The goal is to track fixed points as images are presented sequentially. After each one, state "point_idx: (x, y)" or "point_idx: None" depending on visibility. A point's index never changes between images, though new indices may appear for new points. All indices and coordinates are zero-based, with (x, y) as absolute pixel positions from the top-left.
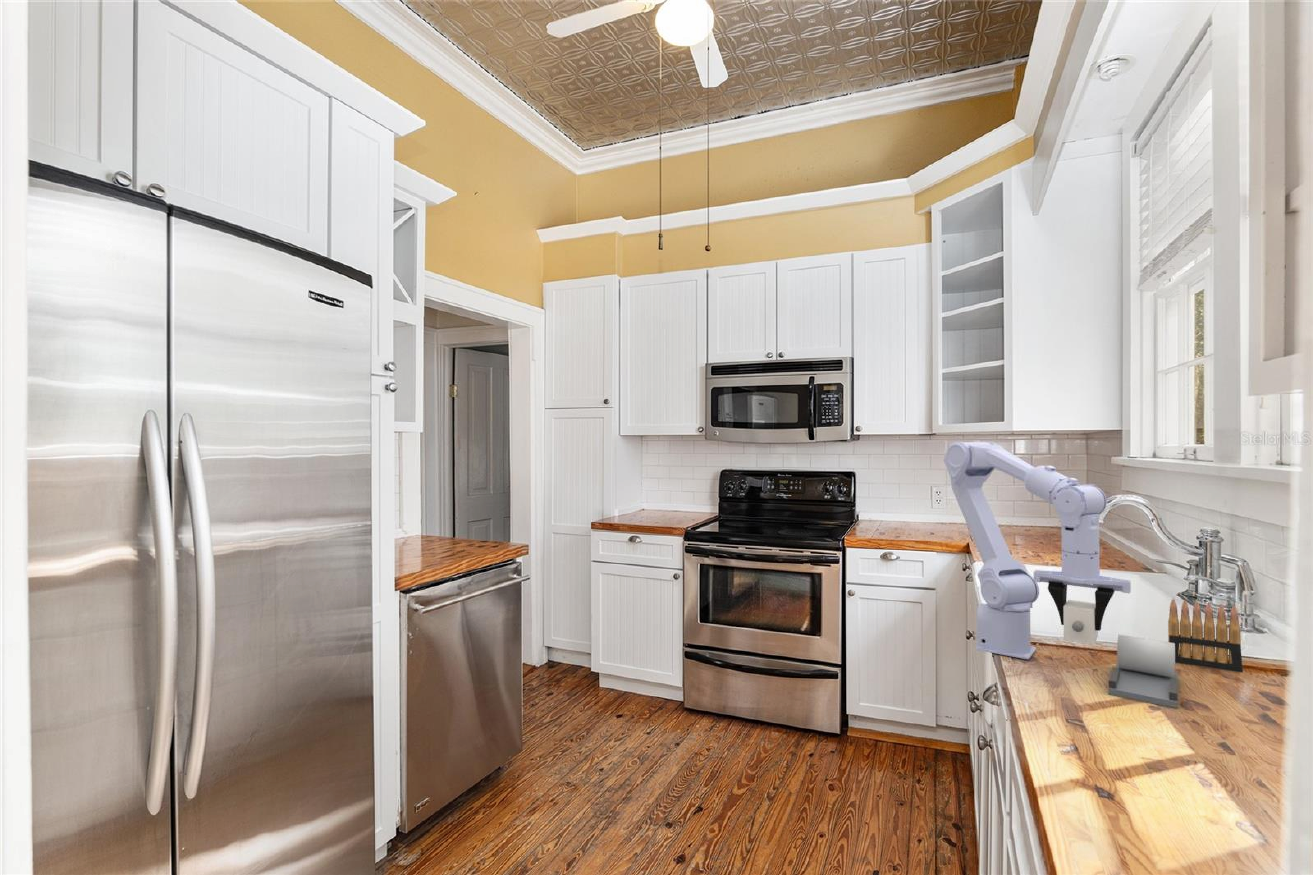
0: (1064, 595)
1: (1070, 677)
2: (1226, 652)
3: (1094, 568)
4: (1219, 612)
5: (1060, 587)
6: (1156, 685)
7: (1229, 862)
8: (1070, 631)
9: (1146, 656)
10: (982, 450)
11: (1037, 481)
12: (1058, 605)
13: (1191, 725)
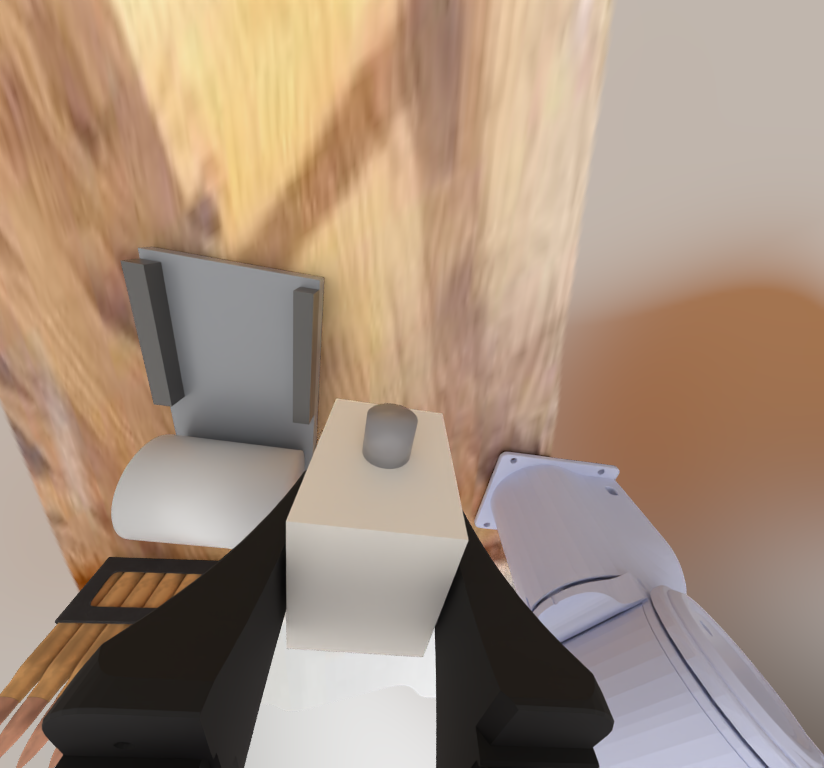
0: (458, 662)
1: (413, 374)
2: (104, 598)
3: None
4: (16, 728)
5: (505, 744)
6: (211, 373)
7: None
8: (420, 433)
9: (209, 462)
10: None
11: None
12: (486, 567)
13: (81, 84)
